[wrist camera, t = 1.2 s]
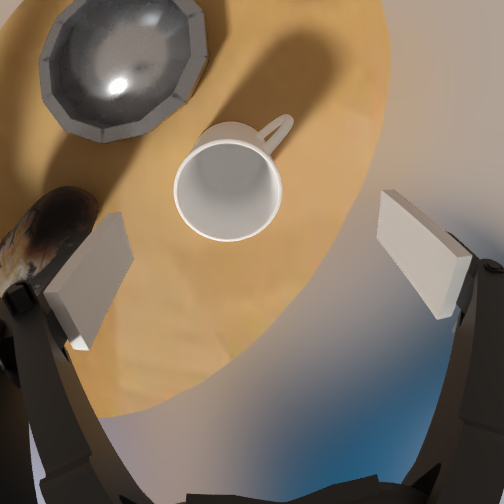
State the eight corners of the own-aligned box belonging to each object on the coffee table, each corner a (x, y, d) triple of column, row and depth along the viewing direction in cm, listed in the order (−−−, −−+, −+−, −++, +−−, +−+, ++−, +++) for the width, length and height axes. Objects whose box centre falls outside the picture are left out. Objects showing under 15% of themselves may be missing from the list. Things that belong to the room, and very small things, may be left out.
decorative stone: (64, 272, 38) (16, 342, 25) (25, 232, 35) (-35, 291, 22) (134, 196, 34) (80, 262, 21) (87, 145, 30) (9, 184, 17)
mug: (259, 87, 28) (272, 82, 18) (307, 146, 32) (342, 174, 21) (176, 156, 32) (147, 189, 21) (226, 209, 35) (223, 263, 25)
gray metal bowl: (64, 151, 30) (51, 157, 27) (51, 14, 20) (38, 11, 18) (215, 121, 30) (213, 123, 27) (202, -32, 20) (199, -42, 18)
